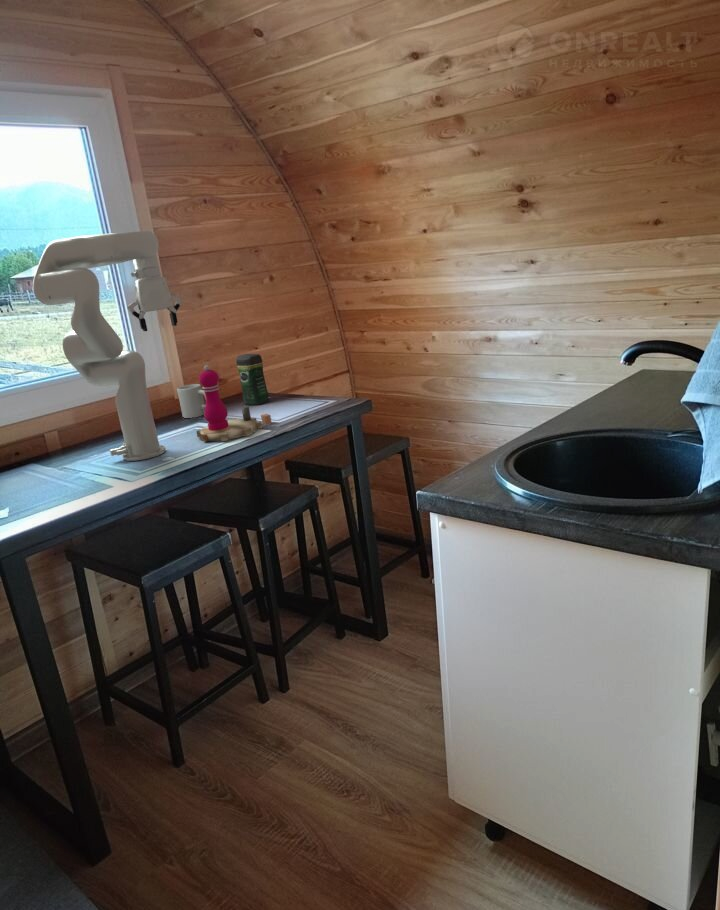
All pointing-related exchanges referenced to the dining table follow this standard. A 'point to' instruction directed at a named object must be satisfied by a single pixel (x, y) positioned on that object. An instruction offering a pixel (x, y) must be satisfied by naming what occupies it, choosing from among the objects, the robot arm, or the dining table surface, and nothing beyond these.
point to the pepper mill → (213, 400)
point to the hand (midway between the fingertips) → (160, 328)
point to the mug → (191, 400)
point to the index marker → (266, 419)
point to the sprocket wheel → (232, 428)
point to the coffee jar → (252, 379)
